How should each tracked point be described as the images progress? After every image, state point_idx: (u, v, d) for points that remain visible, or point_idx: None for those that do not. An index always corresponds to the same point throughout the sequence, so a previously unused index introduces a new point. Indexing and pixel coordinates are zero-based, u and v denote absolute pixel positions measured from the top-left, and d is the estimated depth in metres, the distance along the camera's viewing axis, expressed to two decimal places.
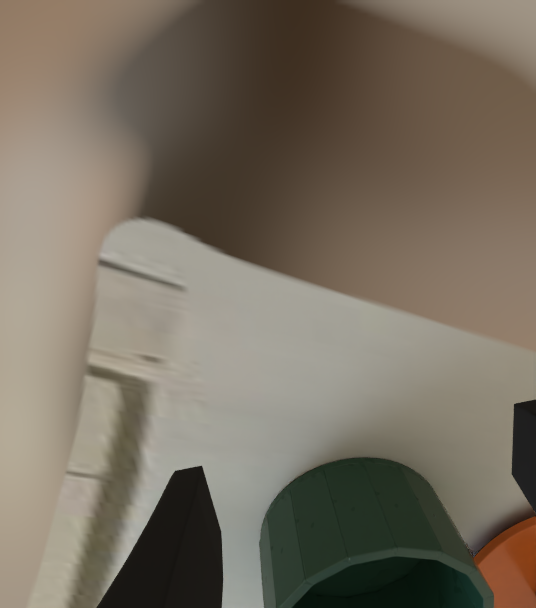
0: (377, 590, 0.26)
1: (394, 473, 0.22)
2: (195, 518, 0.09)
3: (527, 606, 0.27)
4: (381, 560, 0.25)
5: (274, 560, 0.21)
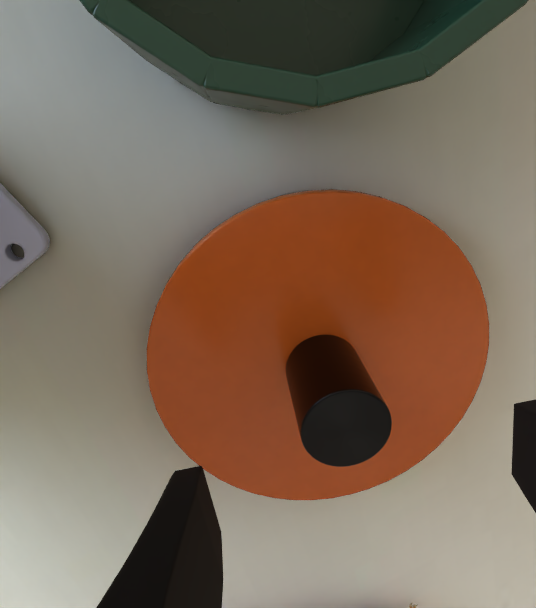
0: None
1: None
2: (195, 518, 0.09)
3: (266, 351, 0.14)
4: None
5: None
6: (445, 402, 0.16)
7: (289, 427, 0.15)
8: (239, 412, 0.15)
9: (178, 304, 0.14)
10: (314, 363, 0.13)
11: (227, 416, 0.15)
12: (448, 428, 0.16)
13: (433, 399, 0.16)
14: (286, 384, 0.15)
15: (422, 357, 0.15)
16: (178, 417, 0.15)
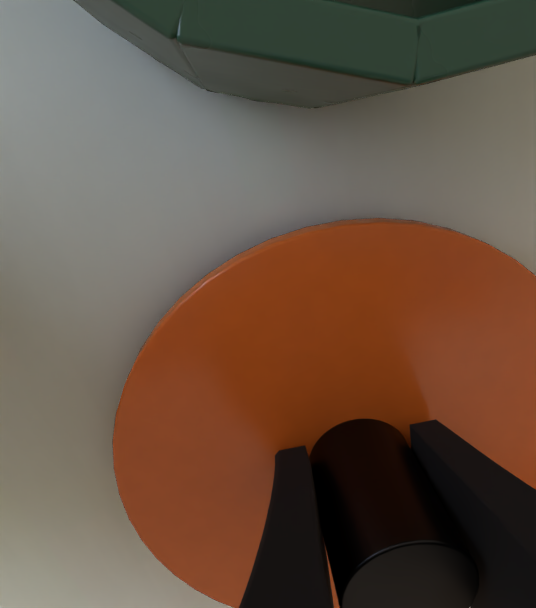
0: None
1: None
2: (314, 494, 0.09)
3: (280, 441, 0.10)
4: None
5: None
6: None
7: None
8: (243, 519, 0.11)
9: (156, 382, 0.09)
10: (354, 475, 0.09)
11: (226, 524, 0.11)
12: None
13: None
14: None
15: (496, 445, 0.11)
16: (159, 527, 0.11)
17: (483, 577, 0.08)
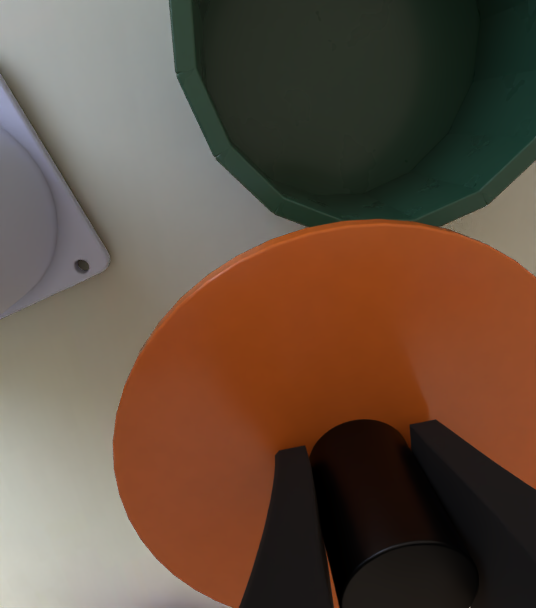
0: (232, 140, 0.16)
1: None
2: (314, 494, 0.09)
3: (280, 442, 0.10)
4: (298, 123, 0.15)
5: None
6: None
7: None
8: (243, 519, 0.11)
9: (156, 382, 0.09)
10: (354, 475, 0.09)
11: (226, 525, 0.11)
12: None
13: None
14: None
15: (495, 446, 0.11)
16: (159, 527, 0.11)
17: (483, 577, 0.08)
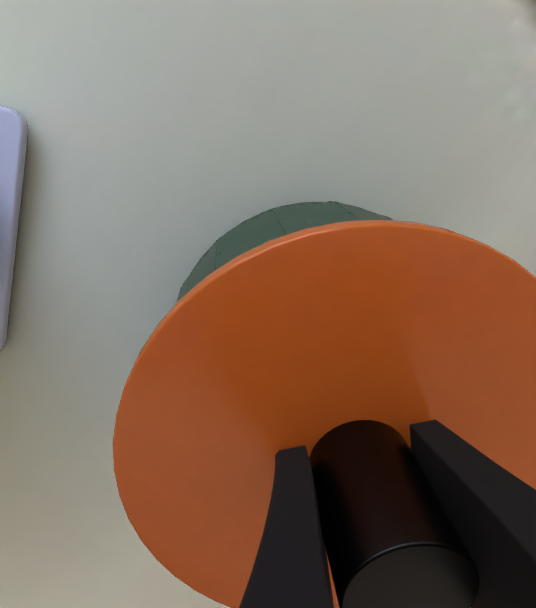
0: None
1: None
2: (314, 494, 0.09)
3: (280, 442, 0.10)
4: None
5: None
6: None
7: None
8: (243, 520, 0.11)
9: (156, 383, 0.09)
10: (354, 476, 0.09)
11: (227, 526, 0.11)
12: None
13: None
14: None
15: (496, 446, 0.11)
16: (159, 528, 0.11)
17: (483, 577, 0.08)
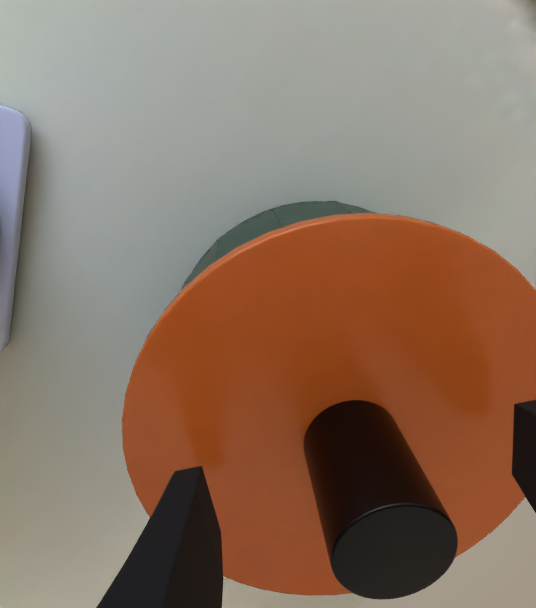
0: None
1: None
2: (195, 518, 0.09)
3: (278, 421, 0.11)
4: None
5: None
6: (505, 478, 0.12)
7: (307, 512, 0.12)
8: (243, 495, 0.12)
9: (162, 365, 0.10)
10: (345, 449, 0.10)
11: (228, 500, 0.12)
12: (507, 509, 0.13)
13: (489, 476, 0.12)
14: (304, 461, 0.12)
15: (479, 426, 0.12)
16: None
17: None
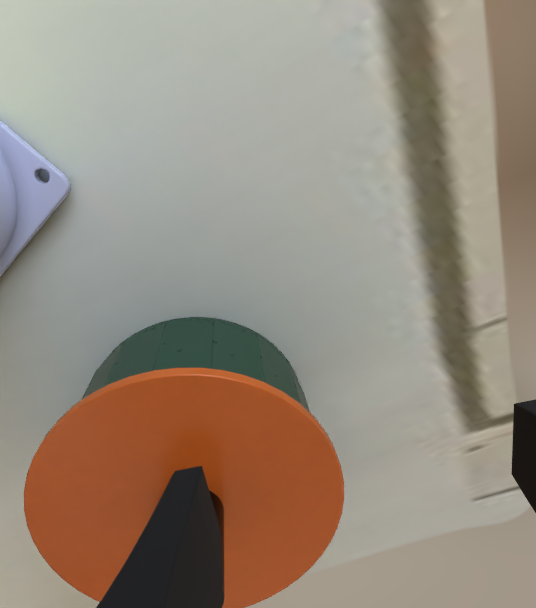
0: None
1: None
2: (195, 518, 0.09)
3: (148, 482, 0.15)
4: None
5: None
6: (277, 572, 0.18)
7: None
8: (99, 521, 0.16)
9: (91, 419, 0.14)
10: None
11: (87, 521, 0.16)
12: (270, 593, 0.18)
13: (268, 567, 0.18)
14: None
15: (275, 533, 0.17)
16: (41, 506, 0.15)
17: None
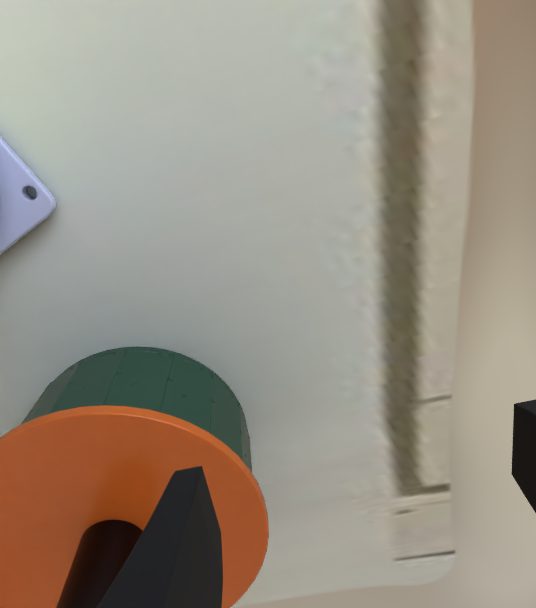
0: None
1: None
2: (195, 518, 0.09)
3: (78, 511, 0.16)
4: None
5: None
6: None
7: (57, 571, 0.17)
8: (23, 541, 0.16)
9: (32, 443, 0.15)
10: (105, 558, 0.15)
11: (10, 538, 0.16)
12: None
13: None
14: (77, 541, 0.16)
15: None
16: None
17: None
